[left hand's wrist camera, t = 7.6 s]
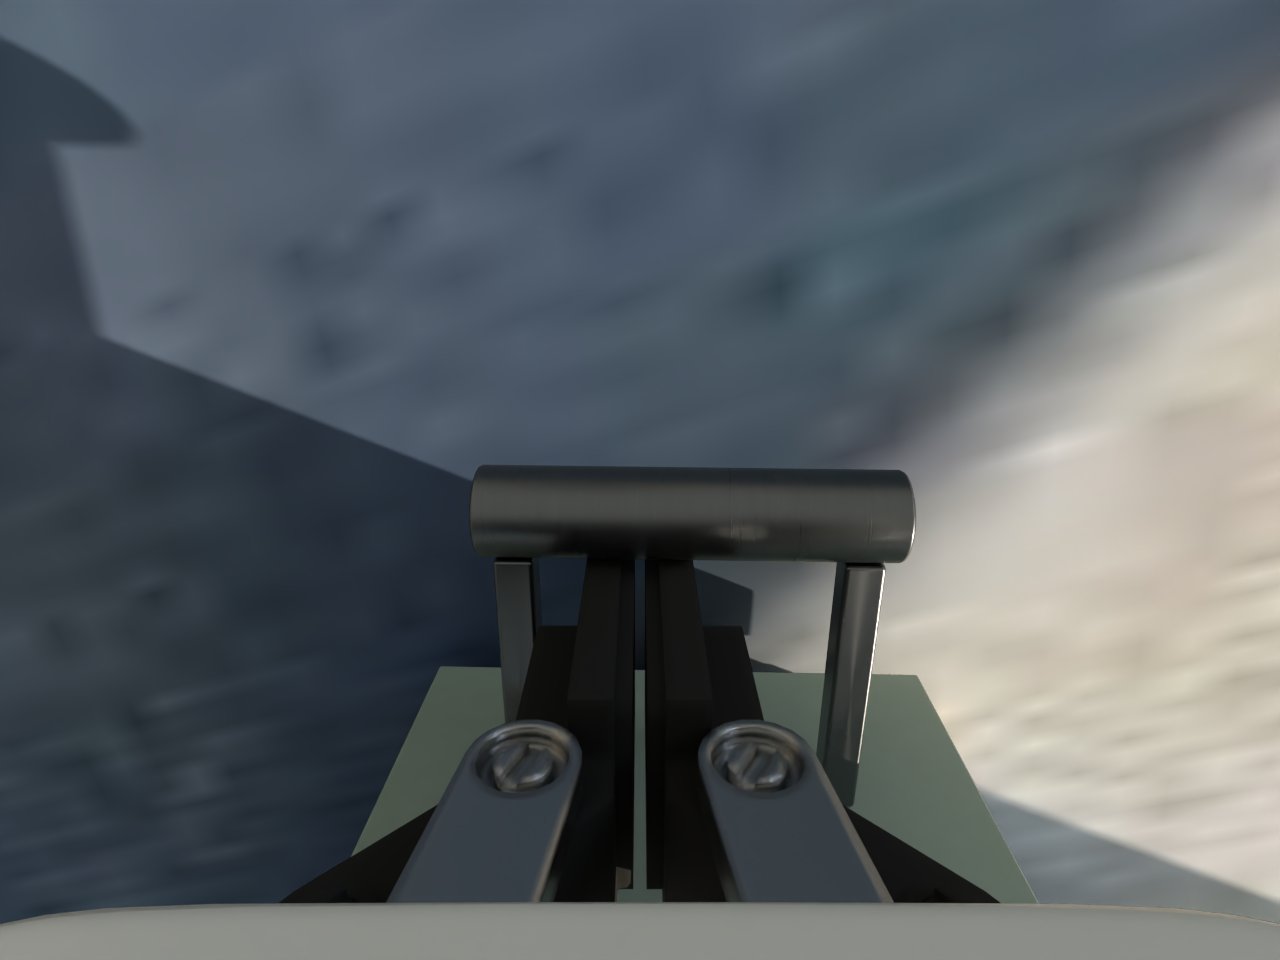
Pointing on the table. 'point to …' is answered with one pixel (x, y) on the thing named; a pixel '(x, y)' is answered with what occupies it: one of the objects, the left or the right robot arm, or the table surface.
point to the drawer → (803, 702)
